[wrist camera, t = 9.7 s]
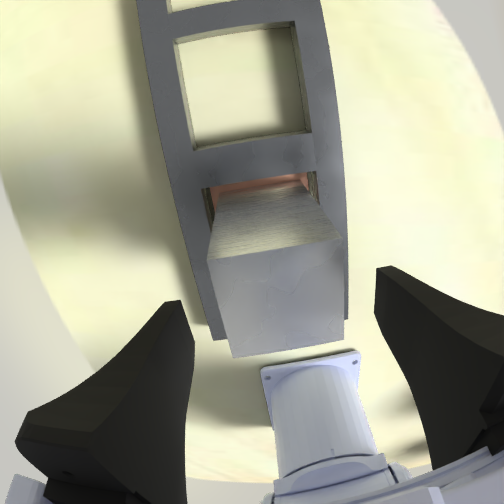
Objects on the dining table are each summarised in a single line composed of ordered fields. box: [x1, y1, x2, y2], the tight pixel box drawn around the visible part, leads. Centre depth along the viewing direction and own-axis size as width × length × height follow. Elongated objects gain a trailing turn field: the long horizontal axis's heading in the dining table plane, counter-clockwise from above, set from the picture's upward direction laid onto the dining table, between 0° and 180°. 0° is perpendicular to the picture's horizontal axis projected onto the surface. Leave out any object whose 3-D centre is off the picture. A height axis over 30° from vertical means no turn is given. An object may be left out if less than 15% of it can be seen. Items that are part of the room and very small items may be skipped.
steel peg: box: [207, 180, 344, 358], centre depth 15 cm, size 4×4×8 cm
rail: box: [136, 0, 348, 341], centre depth 16 cm, size 22×9×2 cm, turn 9°
